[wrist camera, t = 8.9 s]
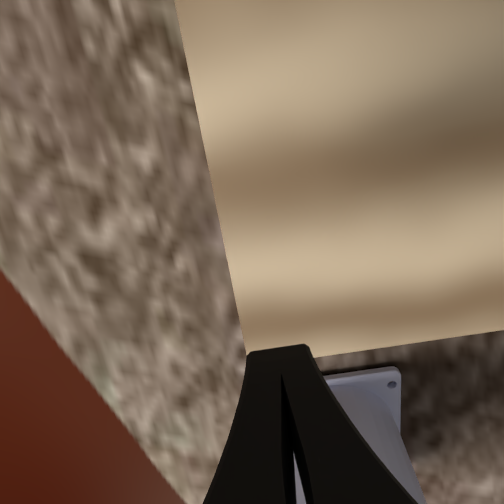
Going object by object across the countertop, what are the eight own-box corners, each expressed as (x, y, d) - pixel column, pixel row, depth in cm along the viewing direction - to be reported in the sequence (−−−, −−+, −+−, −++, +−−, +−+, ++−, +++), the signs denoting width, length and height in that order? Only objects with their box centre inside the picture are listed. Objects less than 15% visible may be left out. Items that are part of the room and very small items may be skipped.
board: (511, 284, 23) (549, 323, 20) (246, 323, 23) (249, 367, 21) (577, -133, 15) (652, -157, 12) (170, -62, 15) (160, -71, 13)
